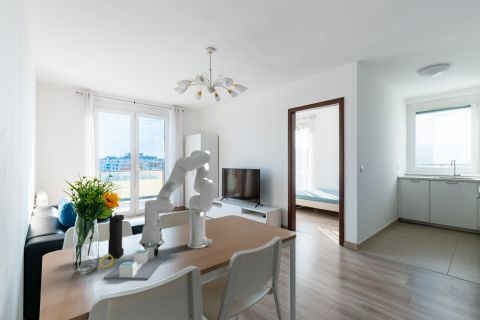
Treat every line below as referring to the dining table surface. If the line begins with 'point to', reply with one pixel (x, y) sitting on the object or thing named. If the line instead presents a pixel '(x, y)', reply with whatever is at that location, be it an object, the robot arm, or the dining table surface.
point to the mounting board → (139, 274)
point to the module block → (151, 251)
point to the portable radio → (115, 237)
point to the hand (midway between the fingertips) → (151, 255)
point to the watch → (105, 257)
